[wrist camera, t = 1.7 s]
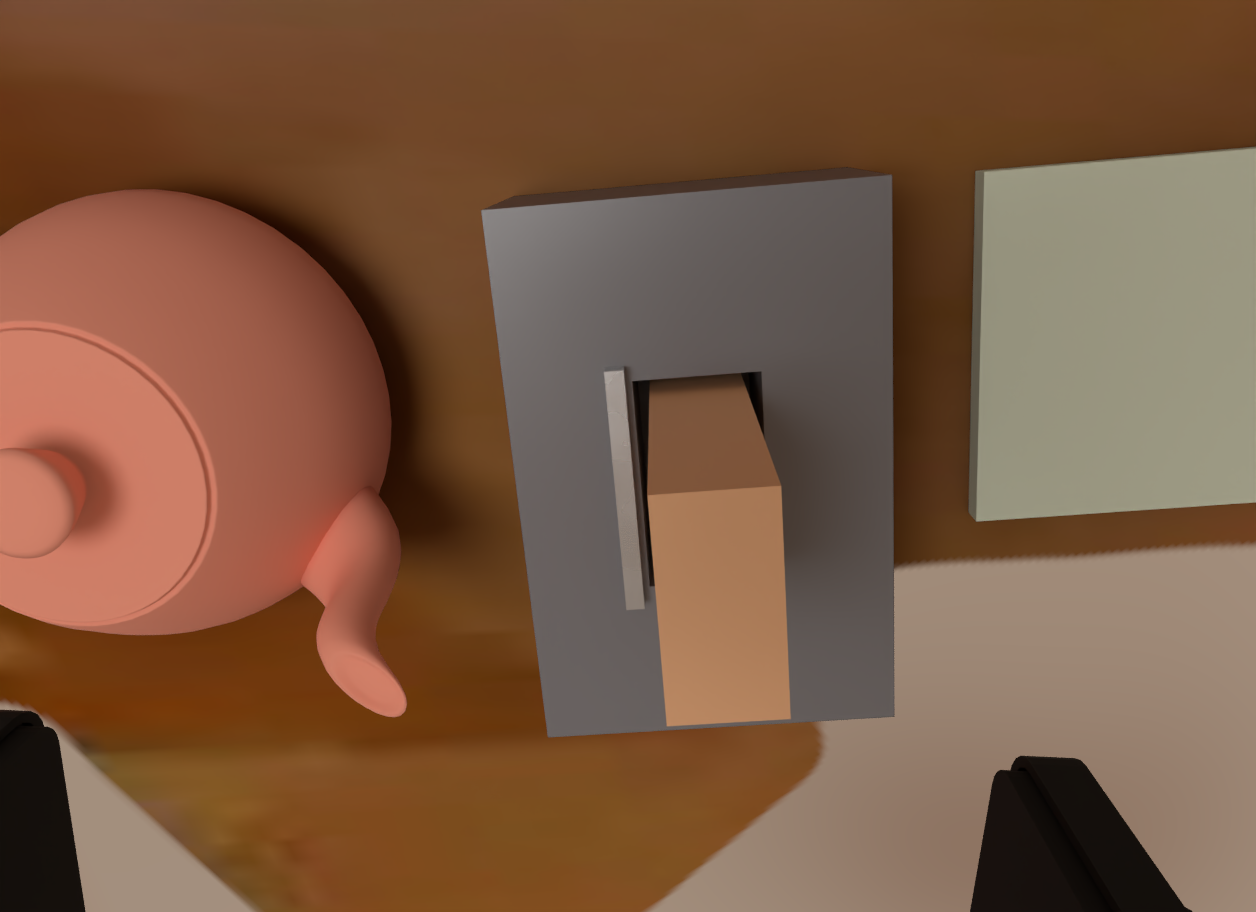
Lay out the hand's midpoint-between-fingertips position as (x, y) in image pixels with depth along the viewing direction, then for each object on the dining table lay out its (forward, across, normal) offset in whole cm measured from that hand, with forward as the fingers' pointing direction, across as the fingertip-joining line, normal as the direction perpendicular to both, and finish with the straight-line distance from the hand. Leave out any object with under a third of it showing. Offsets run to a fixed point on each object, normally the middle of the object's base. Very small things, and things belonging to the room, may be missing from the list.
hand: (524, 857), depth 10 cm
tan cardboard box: (+27, -3, +3) cm, 27 cm away
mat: (+29, -20, -1) cm, 35 cm away
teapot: (+29, +15, +4) cm, 33 cm away
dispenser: (+29, -3, +3) cm, 29 cm away
